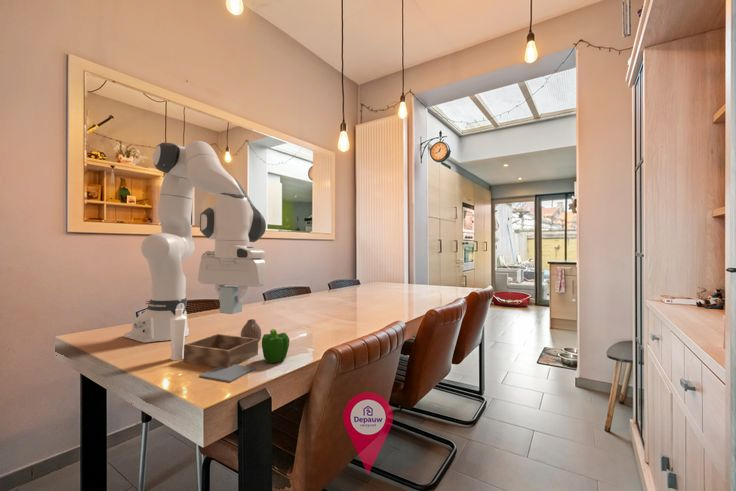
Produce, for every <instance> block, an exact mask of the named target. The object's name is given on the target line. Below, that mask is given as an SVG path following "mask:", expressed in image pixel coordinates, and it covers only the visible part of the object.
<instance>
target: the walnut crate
mask: <svg viewBox="0 0 736 491" xmlns="http://www.w3.org/2000/svg"><path fill="white" fill-rule="evenodd" d="M183 353H184V359H183V362H184V363H189V364H195V365H201V366H207V367H212V368H213V367H214V368H216V367H219V366H221V367H227V368H228V367H230V366H232V365H234V364H236V365H240V364H242V363H244V362H246V361H248V360H249V359H251V358H254V357H256V356H258V354H259V342H258V339H254V338H246V337H241V336H237V335H229V334H220V333H216V334H213V335H210V336H208V337H204V338H201V339H198V340H195V341H191V342H189V343H186V344H185V343H184V351H183Z"/></svg>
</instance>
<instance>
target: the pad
mask: <svg viewBox="0 0 736 491" xmlns="http://www.w3.org/2000/svg"><path fill="white" fill-rule="evenodd" d="M255 370H256V367H254V366H247V365H243V364H237V365H236V364H234V365H232V366H230V367H228V368H227V367H221V366H219V367H214V368H212V369H210V370H207V371H206V372H204V373H202V374H199V375H198V377H199V378H204V379H208V380H215V381H221V382H226V383H233V382H234V381H235V380H238V379H239V378H241V377H243V376H244V375H247V374H249V373H251V372H252V371H255Z"/></svg>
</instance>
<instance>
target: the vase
mask: <svg viewBox="0 0 736 491" xmlns="http://www.w3.org/2000/svg"><path fill="white" fill-rule="evenodd" d="M240 337H246V338H254V339H258V343H259V342H260V340H262V329H261V326H260V325H259V324H258V323H257V321H256V319H253V318H251V319H249V318H248V319H247V321H246V323H245V324H244V325H243V327H242V328H241V331H240Z"/></svg>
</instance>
